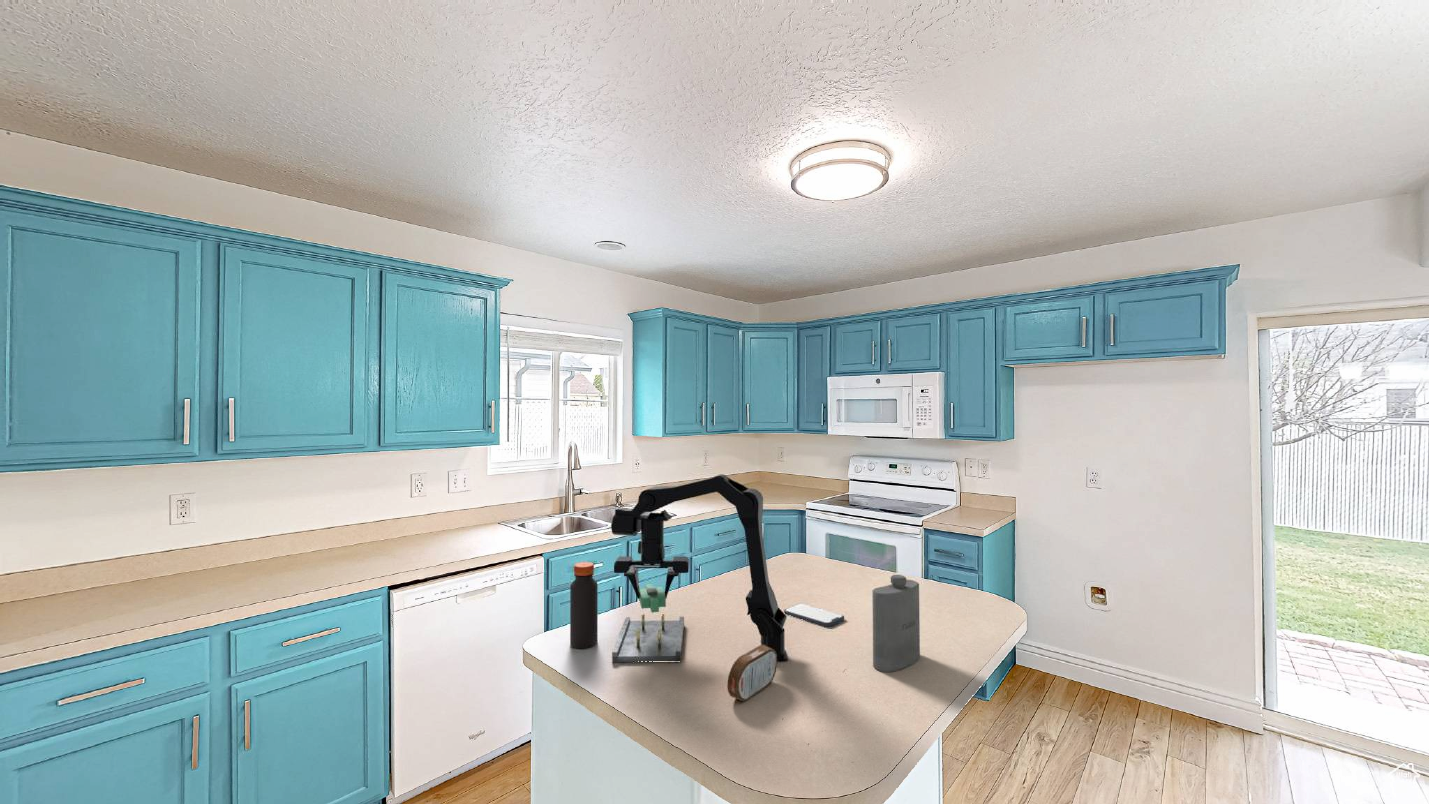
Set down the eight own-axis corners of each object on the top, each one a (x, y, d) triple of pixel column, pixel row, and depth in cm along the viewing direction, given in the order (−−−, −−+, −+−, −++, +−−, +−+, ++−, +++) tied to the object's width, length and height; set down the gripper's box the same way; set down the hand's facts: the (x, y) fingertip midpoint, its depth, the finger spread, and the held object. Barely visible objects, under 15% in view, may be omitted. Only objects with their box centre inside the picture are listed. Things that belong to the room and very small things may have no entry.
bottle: (590, 650, 136) (590, 568, 136) (565, 648, 137) (565, 567, 138) (601, 639, 142) (601, 561, 143) (577, 637, 144) (577, 560, 144)
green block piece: (667, 611, 135) (667, 598, 135) (642, 613, 133) (642, 600, 133) (660, 592, 148) (660, 581, 148) (637, 594, 147) (637, 582, 147)
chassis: (680, 662, 129) (680, 639, 129) (612, 663, 129) (612, 639, 129) (684, 625, 151) (684, 606, 151) (625, 626, 151) (625, 606, 151)
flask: (890, 676, 122) (889, 585, 123) (868, 666, 127) (867, 579, 127) (927, 657, 132) (926, 573, 132) (905, 649, 136) (904, 567, 136)
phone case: (782, 615, 161) (828, 630, 149) (781, 609, 161) (828, 623, 149) (800, 608, 167) (846, 621, 155) (800, 602, 167) (846, 615, 155)
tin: (767, 676, 122) (767, 638, 123) (779, 680, 120) (779, 642, 120) (725, 704, 111) (725, 662, 111) (738, 709, 109) (738, 666, 109)
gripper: (689, 530, 149) (689, 588, 149) (620, 530, 149) (620, 588, 149) (688, 539, 138) (688, 602, 138) (613, 539, 138) (613, 602, 138)
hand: (652, 598), depth 141 cm, fingers closed on green block piece, 6 cm apart
